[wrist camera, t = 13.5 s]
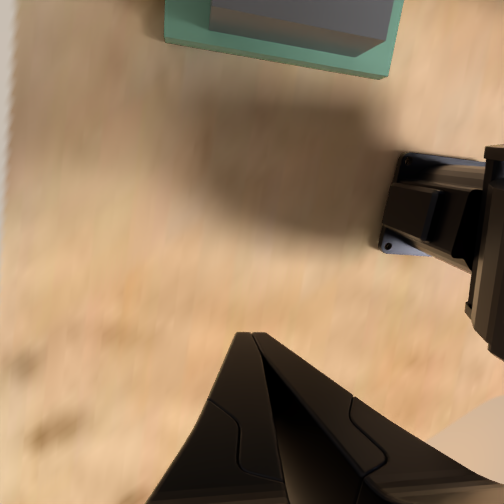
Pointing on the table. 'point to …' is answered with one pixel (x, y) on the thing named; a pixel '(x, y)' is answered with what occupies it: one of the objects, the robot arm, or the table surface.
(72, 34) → the table surface
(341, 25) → the connector socket
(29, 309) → the table surface
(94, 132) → the table surface
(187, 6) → the board
